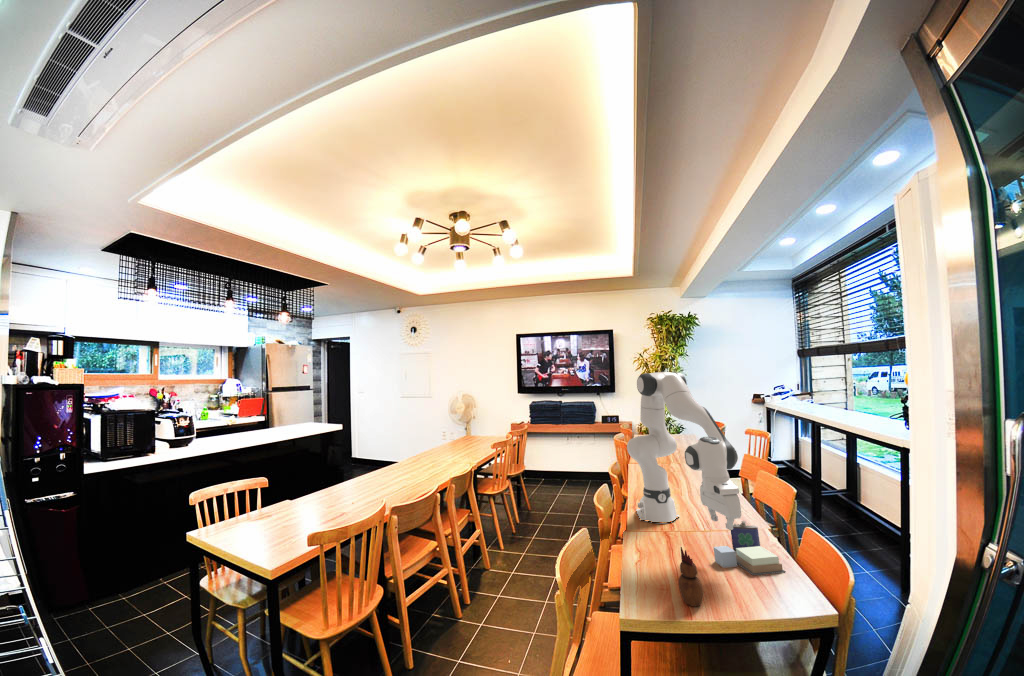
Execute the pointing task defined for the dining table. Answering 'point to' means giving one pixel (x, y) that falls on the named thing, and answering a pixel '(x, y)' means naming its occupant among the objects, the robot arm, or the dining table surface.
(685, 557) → the wooden figurine
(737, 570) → the dining table surface
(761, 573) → the slate mat
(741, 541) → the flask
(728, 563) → the cube
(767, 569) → the plinth
